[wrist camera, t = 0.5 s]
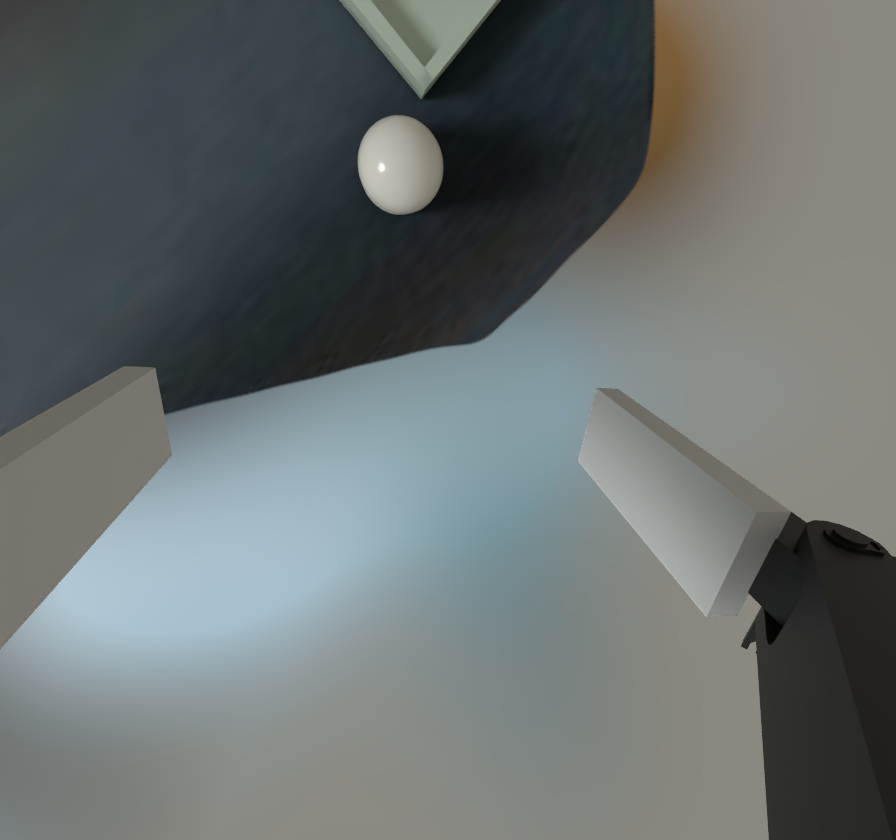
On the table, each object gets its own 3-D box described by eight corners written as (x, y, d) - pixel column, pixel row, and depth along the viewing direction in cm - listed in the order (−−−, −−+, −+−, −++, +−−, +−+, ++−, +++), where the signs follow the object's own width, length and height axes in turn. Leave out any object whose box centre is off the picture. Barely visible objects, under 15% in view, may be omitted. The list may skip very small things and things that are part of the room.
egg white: (345, 174, 30) (335, 161, 23) (394, 112, 29) (399, 79, 22) (400, 230, 32) (406, 233, 25) (448, 174, 31) (468, 162, 24)
